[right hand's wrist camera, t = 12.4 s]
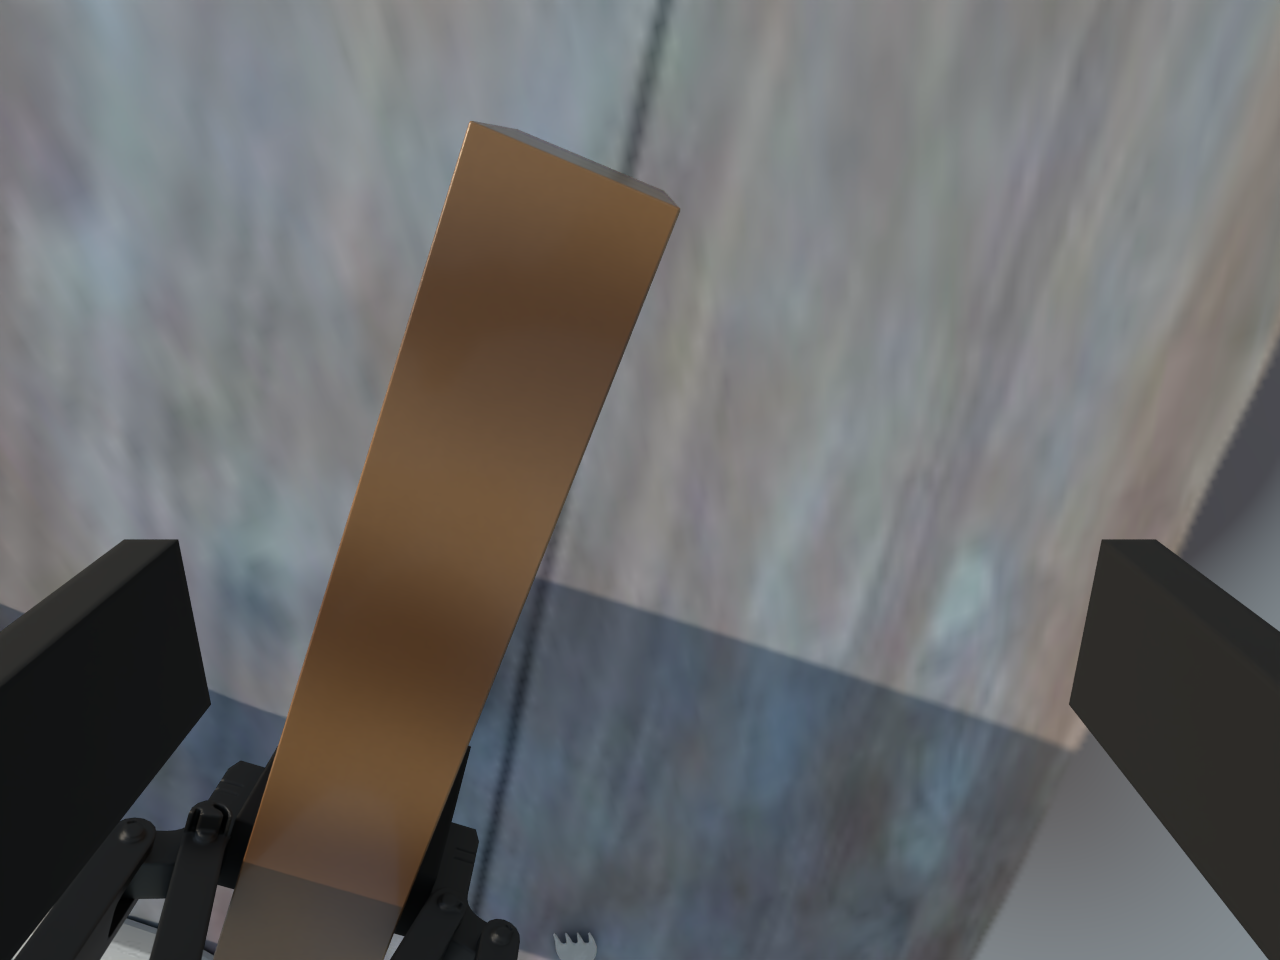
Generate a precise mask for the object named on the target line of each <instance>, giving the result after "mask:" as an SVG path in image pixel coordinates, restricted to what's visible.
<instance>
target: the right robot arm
mask: <svg viewBox="0 0 1280 960" xmlns="http://www.w3.org/2000/svg"><path fill="white" fill-rule="evenodd" d="M210 705H211V702H210V697H209V692H208V687H207V682H206V677H205V672H204V667H203V662H202V657H201V652H200V647H199V642H198V637H197V632H196V627H195V622H194V617H193V612H192V607H191V602H190V597H189V592H188V586H187V581H186V576H185V571H184V566H183V561H182V556H181V551H180V546H179V541H178V540H123V541H122V542H120V543H119V544H118V545H116V546H115V547H114V548H112V549H111V550H110V551H108V552H107V553H106V554H104V555H103V556H101V557H100V558H99V559H97V560H96V561H95V562H93V563H92V564H91V565H89V566H88V567H87V568H85V569H84V570H83V571H81V572H80V573H79V574H77V575H76V576H75V577H73V578H72V579H71V580H69V581H68V582H67V583H65V584H64V585H63V586H61V587H60V588H58V589H57V590H56V591H54V592H53V593H52V594H50V595H49V596H48V597H46V598H45V599H44V600H42V601H41V602H40V603H38V604H37V605H36V606H34V607H33V608H32V609H30V610H29V611H28V612H26V613H25V614H24V615H22V616H21V617H20V618H18V619H17V620H15V621H14V622H13V623H11V624H10V625H9V626H7V627H6V628H5V629H3V630H2V631H1V632H0V960H11V959H12V958H13V957H14V956H15V954H16V953H17V952H18V951H19V949H20V948H21V947H22V945H23V944H24V943H25V942H26V940H27V939H28V938H29V936H30V935H31V934H32V933H33V931H34V930H35V929H36V928H37V926H38V925H39V924H40V922H41V921H42V920H43V919H44V917H45V916H46V915H47V913H48V912H49V911H50V910H51V908H52V907H53V906H54V904H55V903H56V902H57V901H58V899H59V898H60V897H61V896H62V894H63V893H64V892H65V890H66V889H67V888H68V887H69V885H70V884H71V883H72V881H73V880H74V879H75V878H76V876H77V875H78V874H79V873H80V871H81V870H82V869H83V867H84V866H85V865H86V864H87V862H88V861H89V860H90V858H91V857H92V856H93V855H94V853H95V852H96V851H97V850H98V848H99V847H100V846H101V844H102V843H103V842H104V841H105V839H106V838H107V837H108V835H109V834H110V833H111V832H112V830H113V829H114V828H115V826H116V825H117V824H118V823H119V821H120V820H121V819H122V818H123V816H124V815H125V814H126V812H127V811H128V810H129V809H130V807H131V806H132V805H133V803H134V802H135V801H136V800H137V798H138V797H139V796H140V795H141V793H142V792H143V791H144V789H145V788H146V787H147V786H148V784H149V783H150V782H151V780H152V779H153V778H154V777H155V775H156V774H157V773H158V772H159V770H160V769H161V768H162V766H163V765H164V764H165V763H166V761H167V760H168V759H169V757H170V756H171V755H172V754H173V752H174V751H175V750H176V748H177V747H178V746H179V745H180V743H181V742H182V741H183V740H184V738H185V737H186V736H187V734H188V733H189V732H190V731H191V729H192V728H193V727H194V725H195V724H196V723H197V722H198V720H199V719H200V718H201V717H202V715H203V714H204V713H205V711H206V710H207V709H208V708H209V706H210ZM1069 705H1070V706H1071V708H1072V709H1073V710H1074V711H1075V713H1076V714H1077V715H1078V717H1079V718H1080V719H1081V720H1082V722H1083V723H1084V724H1085V725H1086V727H1087V728H1088V729H1089V731H1090V732H1091V733H1092V734H1093V736H1094V737H1095V738H1096V739H1097V741H1098V742H1099V743H1100V745H1101V746H1102V747H1103V748H1104V750H1105V751H1106V752H1107V754H1108V755H1109V756H1110V757H1111V759H1112V760H1113V761H1114V763H1115V764H1116V765H1117V766H1118V768H1119V769H1120V770H1121V772H1122V773H1123V774H1124V775H1125V777H1126V778H1127V779H1128V780H1129V782H1130V783H1131V784H1132V786H1133V787H1134V788H1135V789H1136V791H1137V792H1138V793H1139V794H1140V796H1141V797H1142V798H1143V800H1144V801H1145V802H1146V803H1147V805H1148V806H1149V807H1150V809H1151V810H1152V811H1153V812H1154V814H1155V815H1156V816H1157V818H1158V819H1159V820H1160V821H1161V823H1162V824H1163V825H1164V826H1165V828H1166V829H1167V830H1168V832H1169V833H1170V834H1171V835H1172V837H1173V838H1174V839H1175V841H1176V842H1177V843H1178V844H1179V846H1180V847H1181V848H1182V849H1183V851H1184V852H1185V853H1186V855H1187V856H1188V857H1189V858H1190V860H1191V861H1192V862H1193V863H1194V865H1195V866H1196V867H1197V869H1198V870H1199V871H1200V873H1201V874H1202V875H1203V876H1204V878H1205V879H1206V880H1207V881H1208V883H1209V884H1210V885H1211V887H1212V888H1213V889H1214V890H1215V892H1216V893H1217V894H1218V896H1219V897H1220V898H1221V899H1222V901H1223V902H1224V903H1225V904H1226V906H1227V907H1228V908H1229V910H1230V911H1231V912H1232V913H1233V915H1234V916H1235V917H1236V919H1237V920H1238V921H1239V922H1240V924H1241V925H1242V926H1243V928H1244V929H1245V930H1246V931H1247V933H1248V934H1249V935H1250V936H1251V938H1252V939H1253V940H1254V942H1255V943H1256V944H1257V945H1258V947H1259V948H1260V949H1261V951H1262V952H1263V953H1264V954H1265V956H1266V957H1267V958H1268V959H1269V960H1280V632H1279V631H1278V630H1277V629H1275V628H1274V627H1273V626H1271V625H1270V624H1269V623H1267V622H1266V621H1265V620H1263V619H1262V618H1260V617H1259V616H1258V615H1256V614H1255V613H1254V612H1252V611H1251V610H1250V609H1248V608H1247V607H1246V606H1244V605H1243V604H1242V603H1240V602H1239V601H1238V600H1236V599H1235V598H1234V597H1232V596H1231V595H1230V594H1228V593H1227V592H1226V591H1224V590H1223V589H1221V588H1220V587H1219V586H1217V585H1216V584H1215V583H1213V582H1212V581H1211V580H1209V579H1208V578H1207V577H1205V576H1204V575H1203V574H1201V573H1200V572H1199V571H1197V570H1196V569H1195V568H1193V567H1192V566H1191V565H1189V564H1188V563H1187V562H1185V561H1184V560H1183V559H1181V558H1180V557H1179V556H1177V555H1176V554H1174V553H1173V552H1172V551H1170V550H1169V549H1168V548H1166V547H1165V546H1164V545H1162V544H1161V543H1160V542H1158V541H1157V540H1102V541H1101V546H1100V551H1099V556H1098V561H1097V566H1096V571H1095V576H1094V581H1093V586H1092V592H1091V597H1090V602H1089V607H1088V612H1087V617H1086V622H1085V627H1084V632H1083V637H1082V642H1081V647H1080V652H1079V657H1078V662H1077V667H1076V672H1075V677H1074V682H1073V687H1072V692H1071V697H1070V702H1069Z"/></svg>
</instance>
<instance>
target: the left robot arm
mask: <svg viewBox="0 0 1280 960" xmlns="http://www.w3.org/2000/svg"><path fill="white" fill-rule="evenodd" d="M277 748H278V747H277ZM277 748H276V750H275V752H274V754H273V755H272V757H271V759H270V760H269V762H268V764H267V766H266V767H265V768H264V767H261V766H257V765H254V764H251V763H247V762H244V761H239V762H238V763H236V764H235V765H233V766H232V767H230V768H229V769H228V770H227V772H226V773H225V775H224V776H223V778H222V780H221V781H220V783H219V784H218V786H217V787H216V790H215V791H214V792H213V794H212V795H211V797H210V798H209V800H208V801H203V802H200V803H198V804H196V805H195V806H194V807H192V809H191V810H190V812H189V815H188V818H187V822H186V826H185V828H183V829H179V830H175V831H156V829H155V826H154V825H153V824H152V823H151V822H149V821H147V820H145V819H142V818H129V819H124V820H122V821H120V822H119V823H118V824H117V825H116V826H115V828H114V829H113V830H112V832H111V833H110V834H109V835H108V837H107V838H106V839H105V841H104V842H103V843H102V844H101V846H100V847H99V848H98V850H97V851H96V852H95V853H94V855H93V856H92V857H91V858H90V860H89V861H88V862H87V864H86V865H85V866H84V867H83V869H82V870H81V871H80V873H79V874H78V875H77V876H76V878H75V879H74V880H73V881H72V883H71V884H70V885H69V887H68V888H67V889H66V890H65V892H64V893H63V894H62V896H61V897H60V898H59V899H58V901H57V902H56V903H55V905H54V906H53V907H52V909H51V910H50V911H49V913H48V914H47V915H46V917H45V918H44V920H43V921H42V922H41V924H40V925H39V926H38V928H37V929H36V930H35V932H34V933H33V934H32V936H31V937H30V938H29V940H28V941H27V942H26V944H25V945H24V946H23V948H22V949H21V951H20V952H19V953H18V955H17V956H16V957H15V959H14V960H100V959H101V958H102V956H103V954H104V953H105V951H106V950H107V948H108V947H109V945H110V943H111V942H112V940H113V939H114V937H115V936H116V934H117V932H118V931H119V929H120V928H121V926H122V925H123V923H124V921H125V920H126V918H127V917H128V915H129V914H130V912H131V910H132V909H133V907H134V906H135V904H136V902H137V901H138V899H160V898H165V902H164V906H163V910H162V913H161V917H160V921H159V925H158V928H157V932H156V936H155V939H154V943H153V947H152V951H151V954H150V958H149V960H201V959H202V955H203V950H204V945H205V940H206V936H207V931H208V926H209V921H210V916H211V912H212V907H213V902H214V897H215V893H216V888H217V885H220V886H224V887H228V888H231V889H235V885H236V882H237V879H238V876H239V872H240V869H241V866H242V862H243V859H244V856H245V853H246V849H247V846H248V843H249V840H250V836H251V833H252V830H253V827H254V823H255V820H256V817H257V813H258V810H259V807H260V804H261V800H262V797H263V794H264V791H265V787H266V784H267V781H268V778H269V774H270V771H271V768H272V765H273V761H274V758H275V755H276V751H277ZM470 748H471V746H468V748H467V750H466V753H465V755H464V758H463V760H462V763H461V765H460V768H459V770H458V773H457V775H456V778H455V780H454V783H453V785H452V788H451V790H450V793H449V796H448V798H447V801H446V803H445V806H444V808H443V811H442V813H441V816H440V818H439V821H438V823H437V826H436V828H435V831H434V833H433V836H432V838H431V841H430V843H429V846H428V849H427V851H426V854H425V856H424V859H423V861H422V864H421V866H420V869H419V871H418V874H417V876H416V879H415V881H414V884H413V886H412V889H411V891H410V894H409V896H408V899H407V902H406V904H405V907H404V909H403V912H402V914H401V917H400V919H399V922H398V924H397V927H396V929H395V932H394V933H395V934H398V935H402V936H405V937H404V938H403V940H402V941H401V943H400V945H399V946H398V948H397V949H396V951H395V953H394V954H393V956H392V957H391V959H390V960H517V957H518V951H519V944H520V937H519V933H518V931H517V929H516V928H515V927H514V926H513V925H512V924H511V923H510V922H508V921H505V920H502V919H494V920H490V921H489V922H488V923H487V922H485V921H484V920H482V919H480V918H479V917H478V916H476V915H475V914H474V913H473V911H472V910H471V909H470V907H469V905H468V900H467V897H468V891H469V886H470V881H471V876H472V872H473V867H474V862H475V857H476V853H477V848H478V843H479V840H478V836H477V833H476V829H472V828H469V827H466V826H462V825H459V824H456V823H452V822H451V821H452V818H453V814H454V810H455V806H456V802H457V798H458V794H459V791H460V787H461V783H462V779H463V775H464V771H465V767H466V764H467V760H468V756H469V752H470Z"/></svg>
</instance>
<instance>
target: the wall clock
mask: <svg viewBox="0 0 1280 960" xmlns="http://www.w3.org/2000/svg"><path fill="white" fill-rule="evenodd" d="M51 909H52V908H51ZM48 913H49V912H48ZM48 913H47V914H48ZM45 917H46V916H45ZM45 917H44V918H45ZM43 920H44V919H43ZM43 920H42V921H43ZM42 921H41V922H42ZM41 922H40V924H41ZM40 924H39V925H40ZM39 925H38V926H39ZM38 926H37V928H38ZM37 928H36V929H37ZM36 929H35V930H36ZM35 930H34V931H33V933H34V932H35ZM156 932H157V928H154V927H151V926H148V925H145V924H142V923H139V922H136V921H133V920H130V919H127V918H126V920H125V921H124V923H123V925H122V926H121V928H120V929H119V931H118V932H117V934H116V936H115V937H114V939H113V940H112V942H111V943H110V945H109V947H108V948H107V950H106V951H105V953H104V954H103V956H102V958H101V959H100V960H149V958H150V954H151V951H152V947H153V943H154V939H155V936H156ZM33 933H32V934H33ZM32 934H31V935H30V936H29V938H30V937H31V936H32ZM29 938H28V939H27V940H26V942H27V941H28V940H29ZM26 942H25V943H24V944H23V945H22V947H21V948H20V949H19V951H18V952H17V953H16V954H15V956H14V957H13V958H12V959H11V960H14V959H15V957H16V956H17V955H18V953H19V952H20V951H21V949H22V948H23V946H24V945H25V944H26ZM213 957H214V955H212V954H210V953H208V952H207V951H205V950H203V955H202V959H201V960H213Z"/></svg>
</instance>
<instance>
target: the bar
mask: <svg viewBox="0 0 1280 960" xmlns="http://www.w3.org/2000/svg"><path fill="white" fill-rule="evenodd" d="M679 213H680V208H679V207H678V206H677V205H676V204H675V203H674V201H673V200H672V199H671V198H670V197H669V196H668V195H667V194H666V193H665V192H664V191H663V190H661V189H658V188H656V187H653V186H651V185H649V184H646V183H644V182H642V181H639V180H637V179H634V178H632V177H630V176H627V175H625V174H622V173H620V172H618V171H615V170H613V169H611V168H608V167H606V166H603V165H601V164H599V163H596V162H594V161H592V160H589V159H587V158H584V157H582V156H580V155H577V154H575V153H572V152H570V151H568V150H565V149H563V148H561V147H558V146H556V145H553V144H551V143H549V142H546V141H544V140H541V139H539V138H537V137H534V136H532V135H530V134H527V133H525V132H522V131H520V130H518V129H513V128H507V127H502V126H496V125H491V124H486V123H480V122H475V121H470V122H469V125H468V128H467V131H466V135H465V138H464V141H463V144H462V148H461V151H460V154H459V157H458V161H457V164H456V167H455V170H454V174H453V177H452V180H451V183H450V187H449V190H448V193H447V197H446V200H445V203H444V206H443V210H442V213H441V216H440V219H439V223H438V226H437V229H436V232H435V236H434V239H433V242H432V246H431V249H430V252H429V255H428V259H427V262H426V265H425V268H424V272H423V275H422V278H421V281H420V285H419V288H418V291H417V294H416V298H415V301H414V304H413V308H412V311H411V314H410V317H409V321H408V324H407V327H406V330H405V334H404V337H403V340H402V343H401V347H400V350H399V353H398V356H397V360H396V363H395V366H394V370H393V373H392V376H391V379H390V383H389V386H388V389H387V392H386V396H385V399H384V402H383V405H382V409H381V412H380V415H379V419H378V422H377V425H376V428H375V432H374V435H373V438H372V441H371V445H370V448H369V451H368V454H367V458H366V461H365V464H364V467H363V471H362V474H361V477H360V481H359V484H358V487H357V490H356V494H355V497H354V500H353V503H352V507H351V510H350V513H349V516H348V520H347V523H346V526H345V529H344V533H343V536H342V539H341V543H340V546H339V549H338V552H337V556H336V559H335V562H334V565H333V569H332V572H331V575H330V578H329V582H328V585H327V588H326V592H325V595H324V598H323V601H322V605H321V608H320V611H319V614H318V618H317V621H316V624H315V627H314V631H313V634H312V637H311V640H310V644H309V647H308V650H307V654H306V657H305V660H304V663H303V667H302V670H301V673H300V676H299V680H298V683H297V686H296V689H295V693H294V696H293V699H292V702H291V706H290V709H289V712H288V716H287V719H286V722H285V725H284V729H283V732H282V735H281V738H280V742H279V745H278V748H277V751H276V755H275V758H274V761H273V765H272V768H271V771H270V774H269V778H268V781H267V784H266V787H265V791H264V794H263V797H262V800H261V804H260V807H259V810H258V813H257V817H256V820H255V823H254V827H253V830H252V833H251V836H250V840H249V843H248V846H247V849H246V853H245V856H244V859H243V862H242V866H241V869H240V872H239V876H238V879H237V882H236V885H235V889H234V892H233V895H232V898H231V902H230V905H229V908H228V911H227V915H226V918H225V921H224V924H223V928H222V931H221V934H220V938H219V941H218V944H217V947H216V951H215V954H214V957H213V960H384V957H385V955H386V952H387V949H388V947H389V944H390V942H391V939H392V937H393V934H394V932H395V929H396V927H397V924H398V922H399V919H400V917H401V914H402V912H403V909H404V907H405V904H406V902H407V899H408V896H409V894H410V891H411V889H412V886H413V884H414V881H415V879H416V876H417V874H418V871H419V869H420V866H421V864H422V861H423V859H424V856H425V854H426V851H427V849H428V846H429V843H430V841H431V838H432V836H433V833H434V831H435V828H436V826H437V823H438V821H439V818H440V816H441V813H442V811H443V808H444V806H445V803H446V801H447V798H448V796H449V793H450V790H451V788H452V785H453V783H454V780H455V778H456V775H457V773H458V770H459V768H460V765H461V763H462V760H463V758H464V755H465V753H466V750H467V748H468V745H469V743H470V740H471V737H472V735H473V732H474V730H475V727H476V725H477V722H478V720H479V717H480V715H481V712H482V710H483V707H484V705H485V702H486V700H487V697H488V695H489V692H490V690H491V687H492V685H493V682H494V679H495V677H496V674H497V672H498V669H499V667H500V664H501V662H502V659H503V657H504V654H505V652H506V649H507V647H508V644H509V642H510V639H511V637H512V634H513V632H514V629H515V626H516V624H517V621H518V619H519V616H520V614H521V611H522V609H523V606H524V604H525V601H526V599H527V596H528V594H529V591H530V589H531V586H532V584H533V581H534V579H535V576H536V573H537V571H538V568H539V566H540V563H541V561H542V558H543V556H544V553H545V551H546V548H547V546H548V543H549V541H550V538H551V536H552V533H553V531H554V528H555V526H556V523H557V520H558V518H559V515H560V513H561V510H562V508H563V505H564V503H565V500H566V498H567V495H568V493H569V490H570V488H571V485H572V483H573V480H574V478H575V475H576V473H577V470H578V467H579V465H580V462H581V460H582V457H583V455H584V452H585V450H586V447H587V445H588V442H589V440H590V437H591V435H592V432H593V430H594V427H595V425H596V422H597V420H598V417H599V414H600V412H601V409H602V407H603V404H604V402H605V399H606V397H607V394H608V392H609V389H610V387H611V384H612V382H613V379H614V377H615V374H616V372H617V369H618V367H619V364H620V361H621V359H622V356H623V354H624V351H625V349H626V346H627V344H628V341H629V339H630V336H631V334H632V331H633V329H634V326H635V324H636V321H637V319H638V316H639V314H640V311H641V308H642V306H643V303H644V301H645V298H646V296H647V293H648V291H649V288H650V286H651V283H652V281H653V278H654V276H655V273H656V271H657V268H658V266H659V263H660V261H661V258H662V255H663V253H664V250H665V248H666V245H667V243H668V240H669V238H670V235H671V233H672V230H673V228H674V225H675V223H676V220H677V218H678V215H679Z"/></svg>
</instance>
